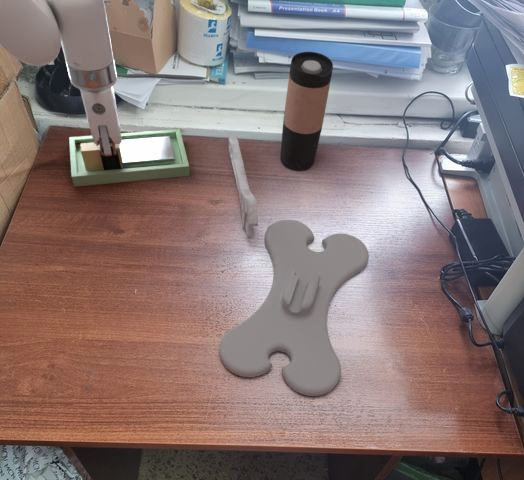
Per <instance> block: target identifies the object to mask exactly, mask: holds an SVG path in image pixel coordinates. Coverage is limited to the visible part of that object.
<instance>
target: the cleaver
mask: <svg viewBox="0 0 524 480" xmlns="http://www.w3.org/2000/svg"><path fill="white" fill-rule="evenodd" d="M79 145H80V146H81V154H82V157H83V161H84V165H85V169H86V171H93V170H104V168H103V164H102V159H101V155H100V152H101V150H100V146H99V144H98V146H97V145H96V144H94V142H93V143H88V142H81V143H79ZM102 145H103V144H102ZM110 146H112V143H110ZM115 147H116V151H118V155H119V160H120V165H121V168H127V167H138V166H149V165H160V164H171V163H175V158H174V153H173V149H172V144H171V140H170V136H167V137H155V138H142V139H130V140H122V142H121V144H120V145H119V144H115ZM120 149H121V150H120Z"/></svg>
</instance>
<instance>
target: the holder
mask: <svg viewBox="0 0 524 480" xmlns="http://www.w3.org/2000/svg"><path fill="white" fill-rule="evenodd" d="M263 239H264V240H263V242H264V246H265V248H266V250H267V252H268V253H269V256H270V259H271V262H272V269H273V279H272V284H271V287H270V290H269V292H268V295H267V297H266V298H265V300H264V301H263V303H262V304H261V306H259V308H258V309H257V310H256V311H255V312H254V313H252V315H250V316H249V317H248V318H247V319H245V320H243V321H241V323H239V324H237V325H235V326H234V327H231V328H230V329H228V331H226V332H225V333H224V334H223V336H222V337H221V340H220V342H219V347H218V354H219V359H220V361H221V363H222V364H223V366H224V367H225V368H226V369H227V370H228V371H229V372H230V373H233V374H234V375H236V376H240V377H243V378H255V377H258V376H262V375H264V374H266V373H267V372H269V371H270V370H271V369H272V368H273V364H272V363H271V361H270V356H271V354H273V353H275V352H282V353H285V354H286V355H287V356H288V357H289V358H290V362H289V364H287V365H286V366H282V367H281V374H282V377H283V380H284V381H285V383H286V384H287V385H288V387H289V388H291V389H292V390H293V391H295V392H297V393H298V394H301V395H304V396H308V397H318V396H322V395H325V394H328V393H329V392H330V391H332V390H333V389H335V387H336V386H337V385H338V383H339V380H340V378H341V374H342V365H341V361H340V359H339V358H338V356H337V354H336V352H335V349H334V347H333V345H332V341H331V340H330V336H329V330H328V310H329V307H330V303H331V301H332V298H333V297H334V295H335V294H336V292H337V291H338V289H339V288H340V287H341V286H342V285H343V284H344V283H345V282H346V281H347V280H349V279H350V278H352V277H353V276H355V275H357V274H358V273H360V272H362V271H363V270H364V269H365V268H366V266H367V264H368V261H369V257H370V254H369V250H368V248H367V246H366V244H365V243H364V242H363V241H362V240H361V239H359V238H358V237H356V236H354V235H351V234H348V233H333V234H329V235H327V236H326V237H324V238H323V239H322V241H321V245H322V246H323V247H324V249H323V250H322V251H314V250H312V249H310V248H309V247H308V244H311V243H314V242H315V235H314V232H313V231H312V230H311V228H309V227H308V226H307V225H306V224H304V223H303V222H301V221H298V220H295V219H281V220H277V221H274V222H273V223H271V224H270V225H269V226H268V227H267V229H266V230H265V233H264V238H263Z"/></svg>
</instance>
